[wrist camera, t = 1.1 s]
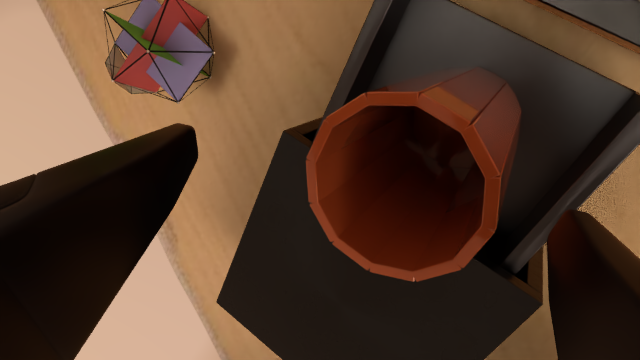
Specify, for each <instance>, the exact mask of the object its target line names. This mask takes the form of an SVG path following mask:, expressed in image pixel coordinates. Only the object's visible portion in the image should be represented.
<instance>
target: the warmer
mask: <svg viewBox="0 0 640 360" xmlns="http://www.w3.org/2000/svg"><path fill="white" fill-rule="evenodd" d="M322 118H323V117H321V118H318V119H316V120H313V121H310V122H307V123H304V124H301V125H299V126H296V127H293V128H289V129H287V130H284V131H283V133H282V135H281V138H280V141H279V143H278V146H277V148H276V151H275V153H274V156H273V158H272V161H271V164H270V166H269V169H268V171H267V174H266V176H265V179H264V181H263V184H262V187H261V189H260V192H259V194H258V197H257V199H256V202H255V204H254V207H253V210H252V212H251V215H250V217H249V220H248V222H247V225H246V227H245V230H244V233H243V235H242V238H241V240H240V243H239V245H238V248H237V250H236V253H235V256H234V258H233V261H232V263H231V266H230V268H229V271H228V273H227V276H226V279H225V281H224V284H223V286H222V289H221V291H220V294H219V296H218V299H217V303H218V304H219V305H220V306H221V307H222V308H223V309H225V310H226V311H227V312H228V313H229V314H230V315H232V316H233V317H234V318H235V319H236V320H237V321H238V322H240V323H241V324H242V325H243V326H244V327H245V328H247V329H248V330H249V331H250V332H251V333H252V334H253V335H255V336H256V337H257V338H258V339H259V340H260V341H262V342H263V343H264V344H265V345H266V346H267V347H268V348H270V349H271V350H272V351H273V352H274V353H275V354H277V355H278V356H279V357H280V358H281V359H282V360H484V359H485V358H486V357H487V356H488V355H489V354H490V353H491V352H493V351H494V350H495V349H496V348H497V347H498V346H499V345H500V344H501V343H502V342H503V341H504V340H505V339H506V338H507V337H509V336H510V335H511V334H512V333H513V332H514V331H515V330H516V329H517V328H518V327H519V326H520V325H521V324H522V323H523V322H525V321H526V320H527V319H528V318H529V317H530V316H531V315H532V314H533V313H534V312H535V311H536V310H537V309H538V308H539V307H541V306H542V305H543V295H542V294H543V247H541V248H540V249H539V250H538V251H537V252H536V254H535V255H534V256H533V257H532V258H531V259H530V260H529V261H528V262H527V263H526V264H525V265H524V266H523V267H522V268H521V269H520V270H519V271H518V272H517V273H516V275H515V276H514V275H512V274H511V273H509V272H508V271H506V270H505V269H503V268H502V267H500V266H499V265H497V264H496V263H494V262H493V261H491V260H490V259H488V258H487V257H485V256H484V255H482V254H481V253H479V252H478V253H477V254H476V255H475V256H474V257H473V258H472V259H471V261H470V262H469V263H468V264H467V265H466V266H465V267H464V268H461V270H458V271H455V272H451V273H447V274H444V275H440V276H437V277H433V278H429V279H426V280H422V281H418V282H417V281H416V280H415V281H414V282H412V281H408V280H403V279H399V278H394V277H390V276H385V275H381V274H377V273H372V272H370V269H369V270H368V271H367V270H366V269H364V268H363V267H362V266H360V265H359V264H358V263H356V262H355V261H354V260H353V259H351V258H350V257H349V256H347V255H346V254H345V253H343V252H342V251H341V250H339V249H338V248H337V247H335V246H334V245H333V242H330V240H329V239H328V237H327V235H326V233H325V232H324V230H323V228H322V226H321V224H320V223H319V221H318V219H317V217H316V215H315V214H314V212H313V210H312V208H311V207H310V203H311V202H309V200H308V186H307V171H306V160H307V158H306V157H307V155H308V153H309V151H310V149H311V146H312V144H313V142H312V140H313V138H314V136H315V133H316V131H317V129H318V127H319V124H320V122H321V120H322Z"/></svg>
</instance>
